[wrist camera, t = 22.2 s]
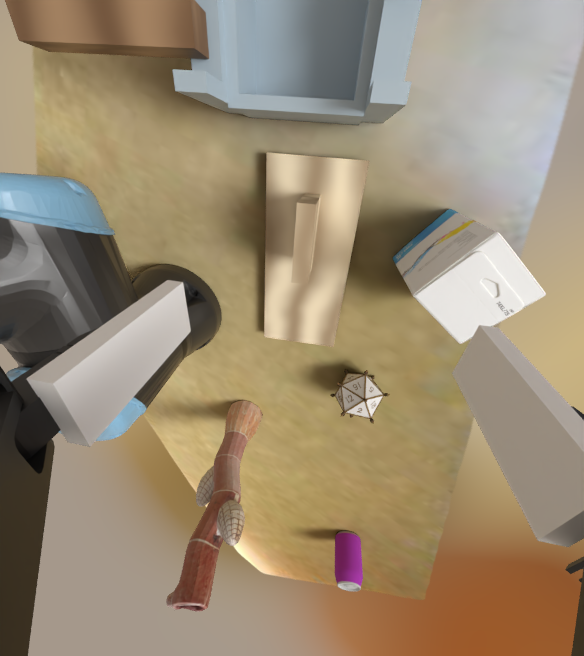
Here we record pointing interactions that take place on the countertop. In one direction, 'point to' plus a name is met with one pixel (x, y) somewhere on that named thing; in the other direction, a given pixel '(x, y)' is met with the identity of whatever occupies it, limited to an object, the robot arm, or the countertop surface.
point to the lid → (309, 243)
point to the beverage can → (348, 561)
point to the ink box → (465, 275)
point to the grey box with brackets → (305, 59)
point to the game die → (359, 395)
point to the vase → (217, 510)
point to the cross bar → (113, 27)
